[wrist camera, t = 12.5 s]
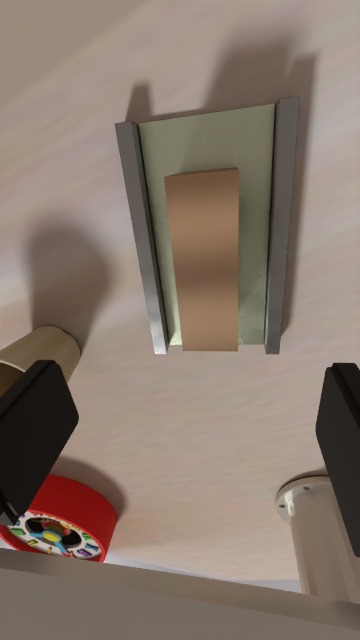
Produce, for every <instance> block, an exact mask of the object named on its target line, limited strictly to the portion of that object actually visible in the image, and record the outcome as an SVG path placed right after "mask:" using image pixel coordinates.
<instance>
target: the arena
mask: <svg viewBox="0 0 360 640" xmlns="http://www.w3.org/2000/svg"><path fill="white" fill-rule="evenodd" d="M299 102H300V96H296V97H289V98H283V99H280V100H279V101H278V102H277V103H276V106H275V104H269V105H262V106H255V107H248V108H242V109H235V110H228V111H221V112H214V113H207V114H201V115H194V116H187V117H180V118H173V119H167V120H160V121H153V122H146V123H139V124H137V123H134V122H132V121H128V122H122V123H115V129H116V134H117V140H118V146H119V151H120V157H121V163H122V168H123V174H124V180H125V186H126V191H127V197H128V203H129V208H130V214H131V220H132V225H133V231H134V237H135V242H136V248H137V254H138V259H139V265H140V271H141V276H142V282H143V288H144V293H145V299H146V305H147V310H148V316H149V322H150V328H151V333H152V339H153V345H154V350H155V354H166V353H167V350H168V347H169V344H170V345H182V339H181V329H180V320H179V311H178V302H177V293H176V284H175V275H174V265H173V256H172V247H171V238H170V229H169V220H168V211H167V201H166V192H165V183H164V177H166V176H169V175H173V174H177V173H183V172H193V171H202V170H212V169H222V168H231V167H237V168H238V169H239V228H238V344H263V341H264V345H265V350H266V354H279V349H280V337H281V325H282V312H283V300H284V288H285V275H286V263H287V251H288V238H289V226H290V214H291V201H292V189H293V176H294V164H295V152H296V139H297V127H298V115H299ZM274 108H275V127H274ZM139 129H140V131H139ZM273 129H274V147H273ZM140 136H141V138H140ZM141 143H142V145H141ZM142 150H143V152H142ZM272 150H273V168H272ZM143 157H144V159H143ZM144 164H145V166H144ZM145 171H146V173H145ZM271 171H272V189H271ZM146 178H147V180H146ZM147 185H148V187H147ZM148 192H149V194H148ZM270 193H271V209H270ZM149 199H150V201H149ZM150 206H151V208H150ZM151 214H152V215H151ZM269 214H270V230H269ZM152 221H153V222H152ZM153 228H154V229H153ZM154 235H155V236H154ZM268 235H269V250H268ZM155 242H156V243H155ZM156 249H157V250H156ZM157 256H158V257H157ZM267 256H268V271H267ZM158 263H159V264H158ZM159 270H160V271H159ZM160 277H161V278H160ZM266 277H267V292H266ZM161 284H162V285H161ZM162 291H163V292H162ZM163 298H164V299H163ZM265 298H266V312H265ZM164 305H165V306H164ZM165 312H166V313H165ZM166 319H167V320H166ZM264 320H265V333H264ZM167 326H168V327H167ZM168 333H169V334H168ZM169 340H170V341H169Z"/></svg>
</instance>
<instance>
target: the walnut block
mask: <svg viewBox="0 0 360 640" xmlns="http://www.w3.org/2000/svg"><path fill="white" fill-rule="evenodd" d="M164 183H165V192H166V201H167V211H168V220H169V229H170V238H171V247H172V256H173V265H174V275H175V284H176V293H177V302H178V311H179V320H180V329H181V339H182V348H183V351H238V228H239V169H238V168H237V167H231V168H222V169H212V170H202V171H193V172H183V173H177V174H173V175H169V176H166V177H164Z"/></svg>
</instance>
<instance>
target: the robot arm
mask: <svg viewBox="0 0 360 640" xmlns="http://www.w3.org/2000/svg"><path fill="white" fill-rule="evenodd" d="M78 420H79V415H78V412H77V409H76V406H75V404H74V401H73V398H72V396H71V393H70V390H69V388H68V385H67V382H66V380H65V377H64V374H63V372H62V369H61V367H60V365H59V364H57V363H56V361H54V360H37V361H35V362H34V363H33V364H32V365H31V366H30V367H29V368H28V369H27V370H26V371H25V373H24V374H23V375H22V376H21V377H20V378H19V379H18V380H17V381H16V382H15V383H14V384H13V385H12V386H11V387H10V388H9V389H8V390H7V391H6V392H5V393H4V394H3V395H2V396H1V397H0V525H8V526H15V525H16V523H17V521H18V519H19V518H20V516H22V515H24V514H25V513H26V511H27V510H28V508H29V507H30V505H31V503H32V501H33V500H34V498H35V496H36V495H37V493H38V491H39V489H40V488H41V486H42V484H43V482H44V481H45V479H46V477H47V476H48V474H49V472H50V470H51V469H52V467H53V465H54V463H55V462H56V460H57V458H58V457H59V455H60V453H61V451H62V450H63V448H64V446H65V444H66V443H67V441H68V439H69V438H70V436H71V434H72V432H73V431H74V429H75V427H76V426H77V423H78ZM316 436H317V440H318V443H319V446H320V449H321V452H322V456H323V459H324V462H325V465H326V468H327V471H328V474H329V477H325V476H319V477H308V478H303V479H299V480H296V481H293V482H291V483H289V484H287V485H286V486H284V487H283V488H282V489H281V490H280V491H279V492H278V494H277V496H276V508H277V511H278V514H279V515H280V517H281V518H282V519H283V520H285V521H286V522H287V523H289V524H290V525H291V531H292V537H293V543H294V549H295V554H296V560H297V566H298V572H299V578H300V584H301V589H302V594H301V593H295V592H290V591H284V590H278V589H273V588H266V587H259V586H253V585H246V584H240V583H233V582H227V581H221V580H214V579H207V578H201V577H195V576H188V575H181V574H175V573H168V572H161V571H155V570H149V569H142V568H135V567H128V566H121V565H115V564H108V563H102V562H95V561H88V560H81V559H75V558H68V557H61V556H54V555H47V554H40V553H33V552H26V551H19V550H12V549H5V548H0V640H360V370H359V368H358V367H357V365H356V364H355V363H333V365H332V367H327V368H326V371H325V377H324V383H323V388H322V394H321V399H320V405H319V410H318V416H317V421H316Z"/></svg>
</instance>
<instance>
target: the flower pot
mask: <svg viewBox="0 0 360 640" xmlns="http://www.w3.org/2000/svg"><path fill="white" fill-rule="evenodd" d="M37 360H54V361H56V363H57V364H59V365H60V367H61V369H62V372H63V374H64V377H65V380H66V382H67V383H68V381H69V379H70V377H71V375H72V373H73V371H74V370H75V368H76V366H77V364H78V362H79V360H80V349H79V346H78V344H77V342H76V341H75V340H74V338H73V337H72V336H70V335H68V334H66V333H65V332H63V331H62V330H61V329H60V328H57V327H53V326H43V327H39V328H37V329H35V330H34V331H32V332H31V333H29V334H27V335H26V336H24V337H23V338H21V339H19V340H17V341H16V342H14V343H12V344H11V345H9V346H7V347H6V348H4V349H2V350H1V351H0V397H1V396H2V395H3V394H4V393H5V392H6V391H7V390H8V389H9V388H10V387H11V386H12V385H13V384H14V383H15V382H16V381H17V380H18V379H19V378H20V377H21V376H22V375H23V374H24V373H25V371H26V370H27V369H28V368H29V367H30V366H31V365H32V364H33V363H34V362H35V361H37Z"/></svg>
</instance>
